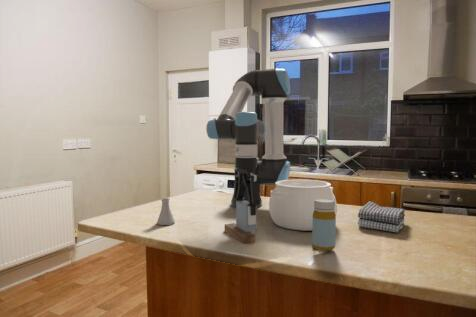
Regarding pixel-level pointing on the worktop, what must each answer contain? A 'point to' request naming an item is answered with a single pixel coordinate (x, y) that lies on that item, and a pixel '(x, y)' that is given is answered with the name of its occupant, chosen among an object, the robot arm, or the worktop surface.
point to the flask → (165, 213)
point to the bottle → (324, 224)
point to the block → (239, 233)
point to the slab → (244, 216)
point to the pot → (297, 202)
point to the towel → (381, 217)
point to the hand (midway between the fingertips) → (245, 221)
